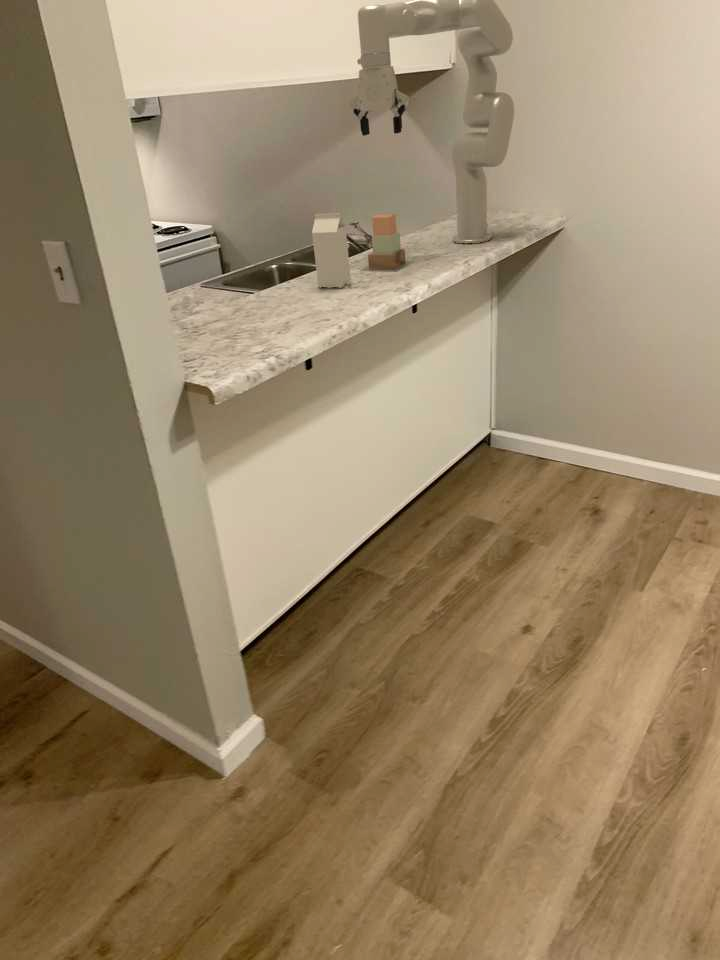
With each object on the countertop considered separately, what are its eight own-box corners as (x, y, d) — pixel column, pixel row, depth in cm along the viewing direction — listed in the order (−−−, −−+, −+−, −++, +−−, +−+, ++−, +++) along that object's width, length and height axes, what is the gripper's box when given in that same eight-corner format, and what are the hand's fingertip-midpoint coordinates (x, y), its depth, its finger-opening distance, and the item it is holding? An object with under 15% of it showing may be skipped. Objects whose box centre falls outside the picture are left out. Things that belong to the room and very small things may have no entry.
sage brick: (382, 249, 216) (381, 231, 213) (400, 249, 213) (399, 231, 211) (373, 254, 211) (371, 236, 209) (391, 254, 209) (390, 236, 206)
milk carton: (342, 288, 200) (335, 216, 190) (318, 288, 202) (309, 217, 193) (351, 281, 205) (344, 210, 196) (327, 281, 208) (319, 211, 198)
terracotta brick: (381, 232, 213) (379, 214, 210) (396, 232, 211) (395, 214, 208) (373, 235, 209) (372, 217, 207) (389, 236, 207) (388, 217, 204)
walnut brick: (381, 262, 219) (380, 248, 217) (405, 262, 215) (404, 248, 213) (369, 268, 213) (367, 254, 211) (393, 269, 209) (392, 255, 207)
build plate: (378, 262, 222) (378, 260, 221) (414, 263, 216) (414, 261, 216) (360, 273, 213) (359, 270, 212) (397, 274, 207) (397, 271, 207)
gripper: (340, 65, 192) (347, 137, 200) (400, 59, 184) (404, 133, 192) (353, 64, 197) (360, 134, 206) (412, 57, 189) (416, 130, 198)
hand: (381, 133), depth 199 cm, fingers open, 9 cm apart
